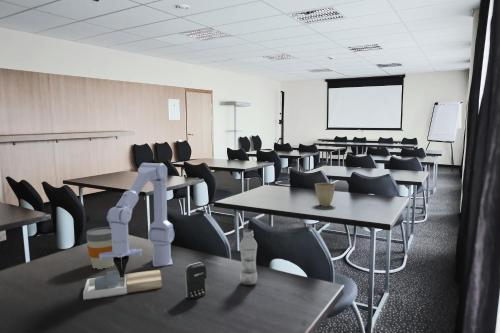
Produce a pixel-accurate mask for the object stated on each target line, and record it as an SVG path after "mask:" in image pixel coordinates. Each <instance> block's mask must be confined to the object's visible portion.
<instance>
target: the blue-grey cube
mask: <svg viewBox="0 0 500 333" xmlns="http://www.w3.org/2000/svg"><path fill="white" fill-rule="evenodd" d="M119 275H120V274H119V271H118V269H117V270H116V269H115V270H109V271H106V279H107V287H108V286H115V285H119Z"/></svg>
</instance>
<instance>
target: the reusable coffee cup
mask: <svg viewBox="0 0 500 333" xmlns="http://www.w3.org/2000/svg"><path fill="white" fill-rule="evenodd" d="M85 241H86V242H87V245H86V246H87V252H88V256H89V257H90V259H91V260H90V261H91V265H92V266H91V267H92V268H93V269H95V268H97V269H96V270H104V269H103V268H105V269H110V268H112V267H114V266H115V265H114V262H113V258H110V259H103V260H99V254H100V253H105V252H110V251H112V234H111V228H110V226H103V227H95V228H91V229H88V230H87V231H86V238H85ZM113 265H114V266H113ZM111 266H112V267H111Z"/></svg>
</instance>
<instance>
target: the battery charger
mask: <svg viewBox="0 0 500 333" xmlns="http://www.w3.org/2000/svg"><path fill="white" fill-rule="evenodd" d="M184 269H185V270H184V280H185V297H186V298H188V299H189V300H194V299H197V298H201V297H203V296H205V295H206V294H207V292H206V285H205V282H206V279H207V278H208V277H207V274H208V273H207V267H206V265H205V264H204V263H203V262H201V261H198V262H194V263H190V264H187V265H186V267H185V268H184Z"/></svg>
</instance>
